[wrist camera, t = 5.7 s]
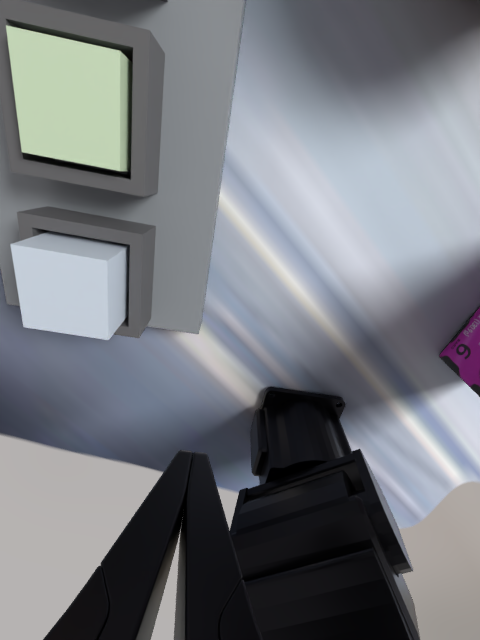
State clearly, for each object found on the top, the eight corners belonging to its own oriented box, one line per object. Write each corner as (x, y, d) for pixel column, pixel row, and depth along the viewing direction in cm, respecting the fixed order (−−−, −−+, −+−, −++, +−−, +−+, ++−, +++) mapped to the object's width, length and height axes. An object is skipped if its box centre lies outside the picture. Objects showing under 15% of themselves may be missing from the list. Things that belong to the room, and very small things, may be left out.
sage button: (143, 74, 14) (120, 50, 11) (141, 171, 15) (119, 171, 13) (53, 54, 13) (6, 25, 11) (60, 155, 15) (21, 152, 12)
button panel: (270, -173, 12) (284, -351, 8) (202, 320, 21) (192, 355, 17) (-54, -267, 11) (-227, -522, 7) (27, 292, 21) (-25, 322, 17)
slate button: (130, 245, 16) (107, 260, 13) (129, 313, 17) (108, 340, 15) (50, 231, 15) (10, 244, 13) (57, 302, 17) (23, 327, 14)
